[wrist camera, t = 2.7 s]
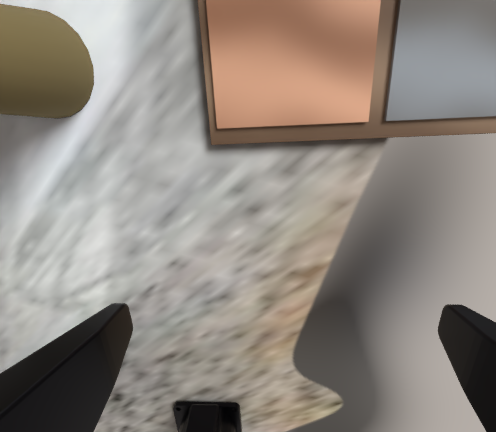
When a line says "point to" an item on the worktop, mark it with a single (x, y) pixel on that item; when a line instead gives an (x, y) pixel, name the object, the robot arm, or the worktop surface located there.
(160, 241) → the worktop surface
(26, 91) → the cork
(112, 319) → the robot arm
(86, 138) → the worktop surface
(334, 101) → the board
